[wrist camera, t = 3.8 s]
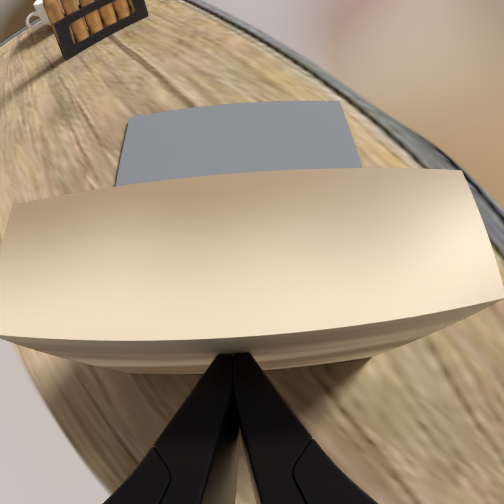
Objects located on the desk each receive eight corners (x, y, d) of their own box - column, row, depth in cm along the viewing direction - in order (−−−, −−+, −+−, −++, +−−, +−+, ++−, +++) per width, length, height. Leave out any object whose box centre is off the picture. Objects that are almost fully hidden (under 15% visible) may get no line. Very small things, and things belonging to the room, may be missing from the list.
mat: (387, 278, 16) (389, 276, 16) (106, 298, 16) (103, 296, 16) (338, 105, 21) (339, 101, 21) (131, 120, 21) (129, 117, 21)
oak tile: (372, 356, 15) (505, 297, 6) (130, 373, 15) (-13, 333, 5) (362, 290, 16) (461, 170, 7) (131, 306, 16) (12, 205, 7)
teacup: (79, 4, 34) (71, -22, 29) (101, 6, 32) (92, -23, 27) (27, 38, 31) (15, 13, 26) (42, 44, 29) (29, 14, 24)
